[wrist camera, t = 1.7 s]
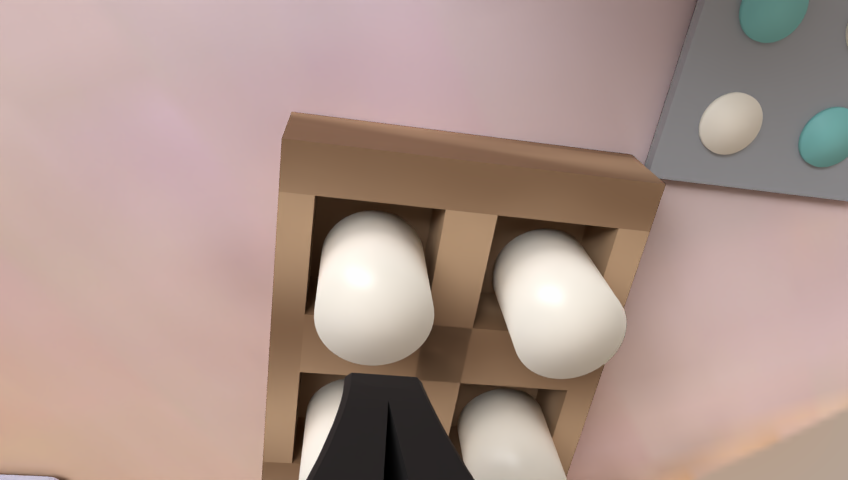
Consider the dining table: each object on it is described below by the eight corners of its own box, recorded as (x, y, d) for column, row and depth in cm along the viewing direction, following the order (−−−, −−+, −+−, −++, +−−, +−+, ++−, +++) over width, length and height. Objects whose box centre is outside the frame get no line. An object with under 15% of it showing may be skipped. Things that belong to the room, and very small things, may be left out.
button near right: (574, 317, 19) (608, 382, 16) (483, 309, 19) (503, 374, 16) (599, 234, 18) (640, 289, 15) (502, 223, 17) (528, 278, 15)
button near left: (415, 304, 18) (424, 369, 16) (317, 295, 18) (309, 361, 15) (431, 216, 17) (443, 270, 14) (326, 204, 17) (318, 259, 14)
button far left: (390, 449, 21) (394, 527, 18) (303, 445, 20) (294, 524, 18) (402, 381, 20) (408, 454, 17) (310, 375, 19) (301, 448, 17)
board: (539, 454, 24) (556, 506, 22) (270, 440, 23) (261, 493, 21) (631, 154, 19) (665, 184, 17) (291, 111, 18) (281, 138, 15)
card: (848, 197, 20) (860, 204, 20) (642, 172, 19) (649, 178, 19) (961, -40, 17) (978, -39, 17) (724, -85, 16) (736, -85, 16)
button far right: (531, 457, 21) (555, 533, 19) (450, 452, 21) (463, 530, 18) (551, 391, 20) (580, 462, 18) (465, 385, 20) (481, 458, 17)
